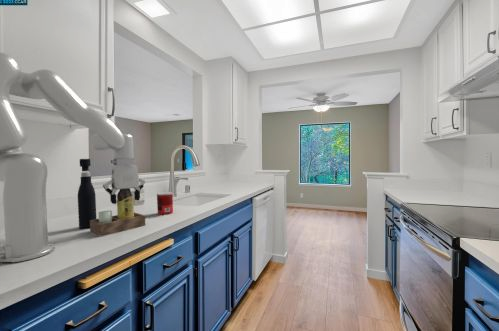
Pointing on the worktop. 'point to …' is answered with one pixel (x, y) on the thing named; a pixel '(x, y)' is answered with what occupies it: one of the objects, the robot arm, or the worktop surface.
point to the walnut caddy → (116, 225)
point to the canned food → (165, 203)
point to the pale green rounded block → (105, 217)
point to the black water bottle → (86, 197)
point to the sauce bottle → (125, 204)
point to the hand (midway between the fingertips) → (126, 201)
